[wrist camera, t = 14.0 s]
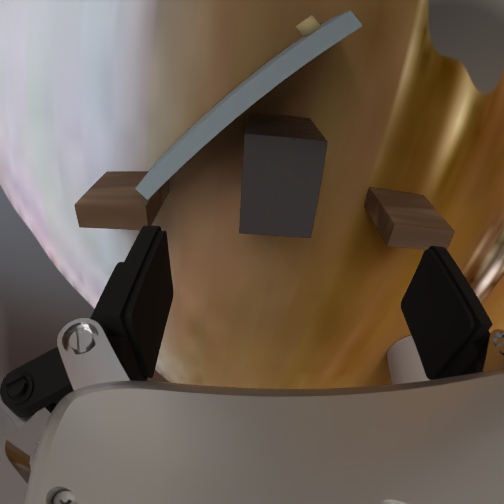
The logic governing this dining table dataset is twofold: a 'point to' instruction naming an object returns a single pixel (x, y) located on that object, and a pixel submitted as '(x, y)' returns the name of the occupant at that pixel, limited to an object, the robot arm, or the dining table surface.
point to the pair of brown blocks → (144, 211)
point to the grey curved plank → (249, 94)
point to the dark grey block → (281, 175)
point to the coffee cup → (405, 362)
